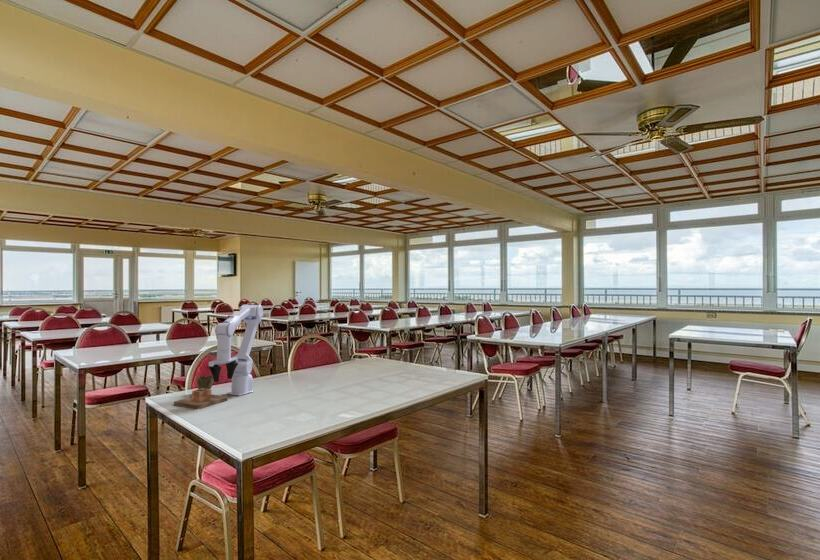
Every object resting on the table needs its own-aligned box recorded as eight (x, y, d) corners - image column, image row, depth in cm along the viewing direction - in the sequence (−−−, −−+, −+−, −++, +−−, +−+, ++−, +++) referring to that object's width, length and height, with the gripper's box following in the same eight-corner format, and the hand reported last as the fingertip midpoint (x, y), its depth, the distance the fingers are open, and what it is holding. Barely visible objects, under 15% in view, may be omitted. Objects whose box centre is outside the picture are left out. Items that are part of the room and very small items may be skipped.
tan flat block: (205, 396, 197) (205, 383, 197) (227, 400, 192) (228, 387, 192) (173, 404, 182) (174, 390, 183) (197, 409, 177) (197, 394, 177)
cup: (194, 395, 198) (194, 378, 198) (197, 392, 205) (198, 375, 205) (211, 395, 200) (212, 378, 200) (214, 391, 207) (214, 374, 207)
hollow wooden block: (202, 397, 190) (202, 388, 191) (211, 398, 188) (211, 389, 188) (191, 399, 186) (192, 390, 186) (200, 401, 183) (201, 392, 183)
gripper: (217, 352, 182) (216, 384, 182) (243, 348, 196) (242, 378, 195) (205, 351, 185) (204, 382, 185) (231, 347, 199) (230, 376, 198)
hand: (223, 380), depth 190 cm, fingers open, 7 cm apart
